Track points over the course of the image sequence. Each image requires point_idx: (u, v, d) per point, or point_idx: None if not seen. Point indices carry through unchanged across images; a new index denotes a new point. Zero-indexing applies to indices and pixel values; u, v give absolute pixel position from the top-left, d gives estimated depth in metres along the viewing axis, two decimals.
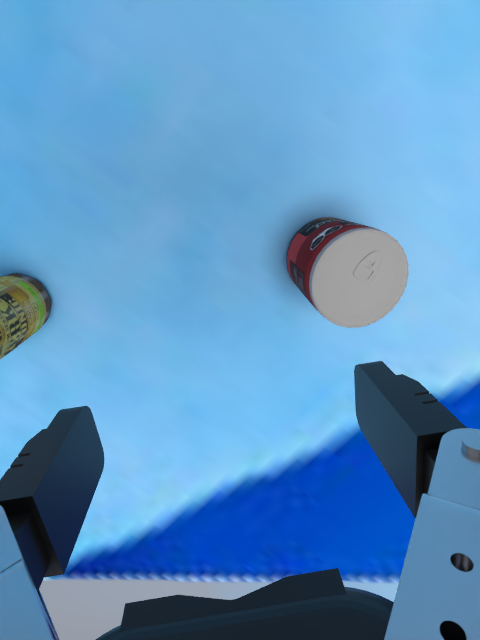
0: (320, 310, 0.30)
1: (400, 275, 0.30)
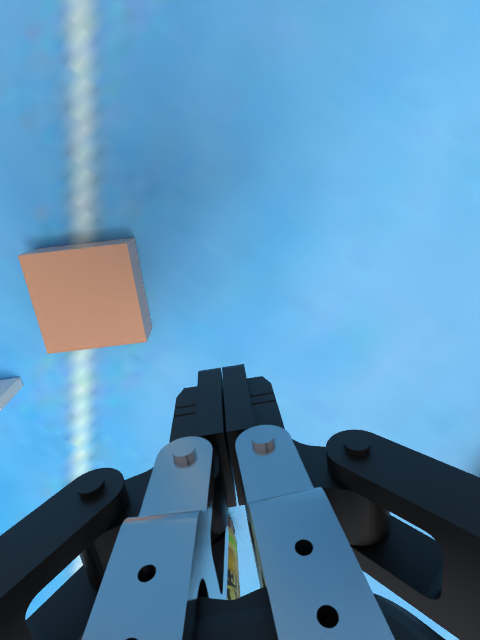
0: None
1: None
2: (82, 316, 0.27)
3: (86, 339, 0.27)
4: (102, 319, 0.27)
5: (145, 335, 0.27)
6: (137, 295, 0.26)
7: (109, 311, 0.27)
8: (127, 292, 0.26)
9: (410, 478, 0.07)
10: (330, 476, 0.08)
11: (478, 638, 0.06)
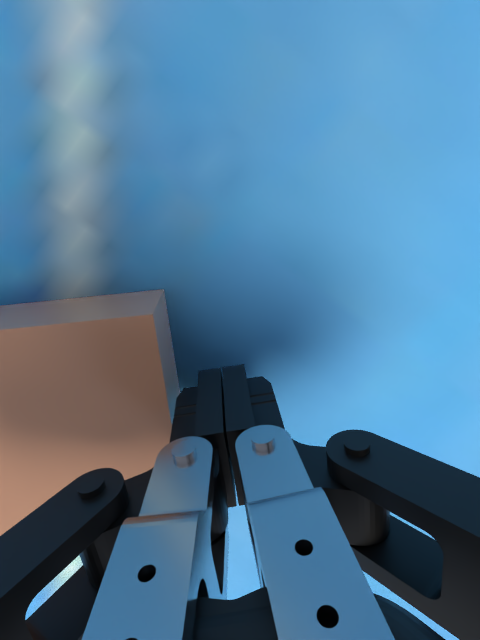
0: None
1: None
2: (42, 472, 0.11)
3: None
4: None
5: None
6: None
7: (106, 463, 0.12)
8: (148, 422, 0.11)
9: (410, 478, 0.07)
10: (330, 476, 0.08)
11: (478, 638, 0.06)
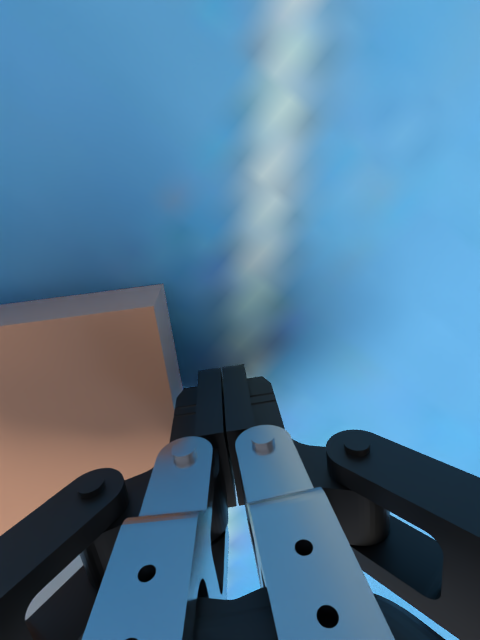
0: None
1: None
2: (50, 466, 0.12)
3: None
4: None
5: None
6: None
7: (112, 454, 0.12)
8: (152, 414, 0.11)
9: (410, 478, 0.07)
10: (330, 476, 0.08)
11: (478, 638, 0.06)
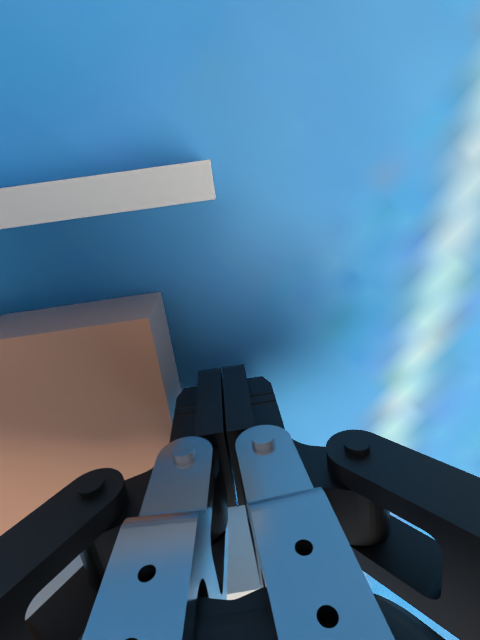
0: None
1: None
2: (48, 478, 0.12)
3: None
4: None
5: None
6: None
7: (110, 466, 0.12)
8: (150, 425, 0.11)
9: (410, 478, 0.07)
10: (330, 476, 0.08)
11: (478, 638, 0.06)
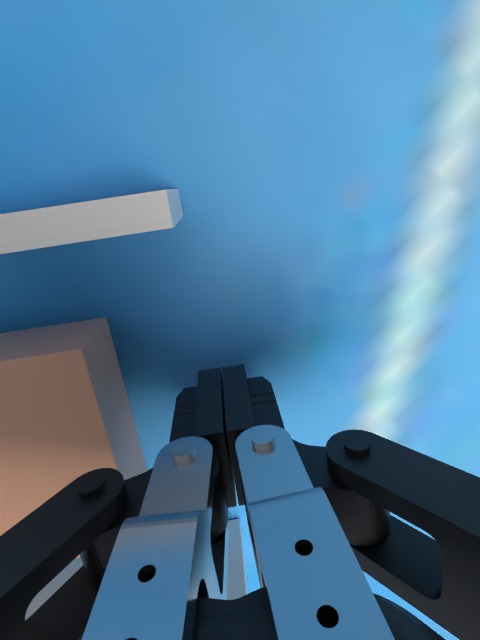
0: None
1: None
2: None
3: None
4: None
5: None
6: (114, 457, 0.11)
7: (51, 496, 0.12)
8: (89, 455, 0.11)
9: (410, 478, 0.07)
10: (330, 476, 0.08)
11: (478, 638, 0.06)
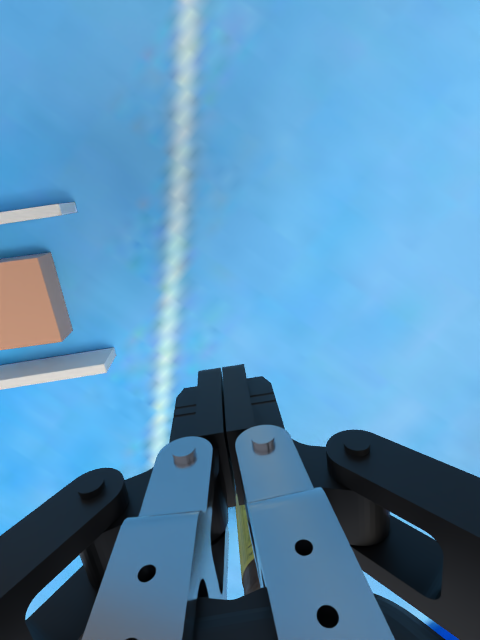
0: None
1: None
2: (4, 320, 0.31)
3: (9, 340, 0.32)
4: (21, 323, 0.31)
5: (60, 336, 0.32)
6: (50, 301, 0.31)
7: (27, 316, 0.31)
8: (41, 299, 0.31)
9: (410, 478, 0.07)
10: (330, 476, 0.08)
11: (478, 638, 0.06)
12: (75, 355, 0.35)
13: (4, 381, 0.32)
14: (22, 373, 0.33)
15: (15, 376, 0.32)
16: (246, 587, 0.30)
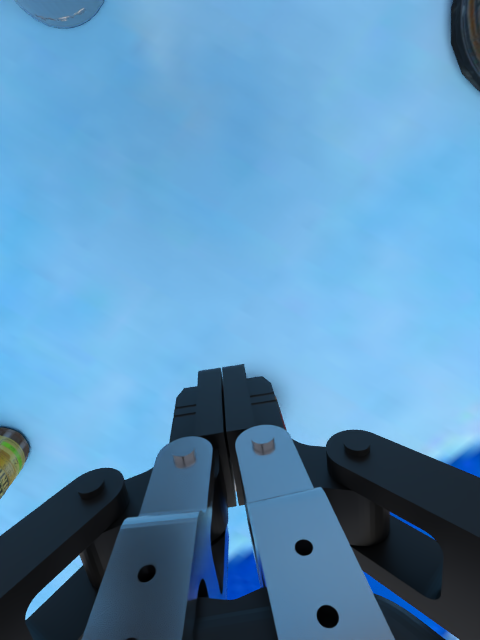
0: None
1: None
2: None
3: None
4: None
5: None
6: None
7: None
8: None
9: (410, 478, 0.07)
10: (330, 476, 0.08)
11: (478, 638, 0.06)
12: None
13: None
14: None
15: None
16: None
